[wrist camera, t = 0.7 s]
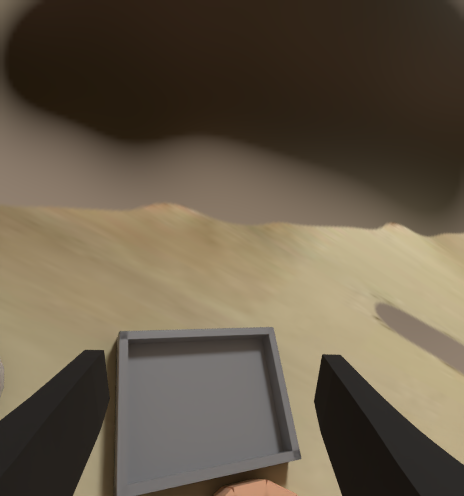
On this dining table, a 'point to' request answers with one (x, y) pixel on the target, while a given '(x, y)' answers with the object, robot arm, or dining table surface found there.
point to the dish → (253, 489)
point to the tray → (198, 407)
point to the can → (1, 377)
